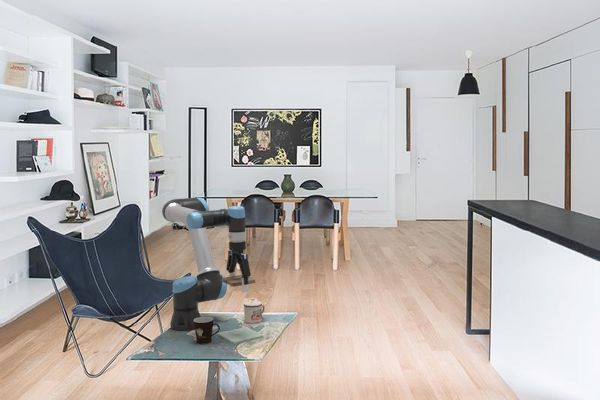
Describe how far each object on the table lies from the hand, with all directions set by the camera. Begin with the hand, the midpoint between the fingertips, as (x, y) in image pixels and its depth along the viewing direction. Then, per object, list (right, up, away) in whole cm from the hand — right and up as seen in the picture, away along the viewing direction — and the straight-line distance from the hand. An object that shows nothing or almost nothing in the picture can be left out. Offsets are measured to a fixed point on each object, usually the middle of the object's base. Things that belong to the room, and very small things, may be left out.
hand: (238, 289), depth 264 cm
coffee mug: (-14, -23, -5) cm, 27 cm away
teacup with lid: (+6, -20, +26) cm, 33 cm away
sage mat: (+1, -22, +2) cm, 22 cm away
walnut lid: (0, +3, 0) cm, 3 cm away
